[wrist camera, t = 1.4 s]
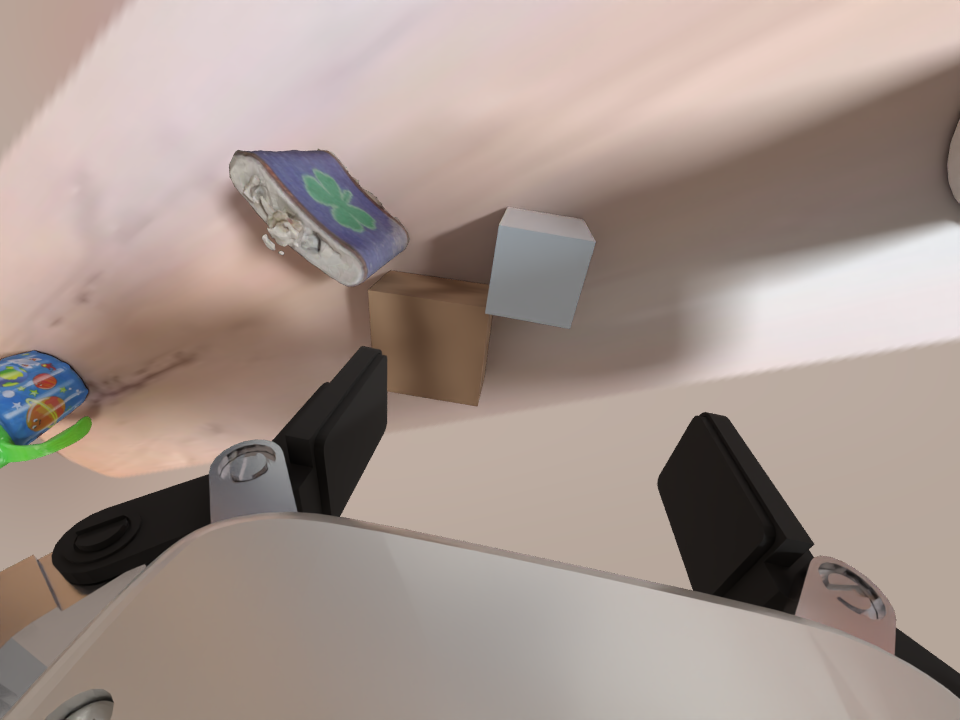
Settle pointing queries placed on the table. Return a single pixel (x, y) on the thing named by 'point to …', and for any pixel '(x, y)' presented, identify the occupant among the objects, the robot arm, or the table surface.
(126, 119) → the table surface
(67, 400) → the snack cup
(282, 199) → the clover trinket box
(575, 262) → the pale blue cube
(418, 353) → the block
